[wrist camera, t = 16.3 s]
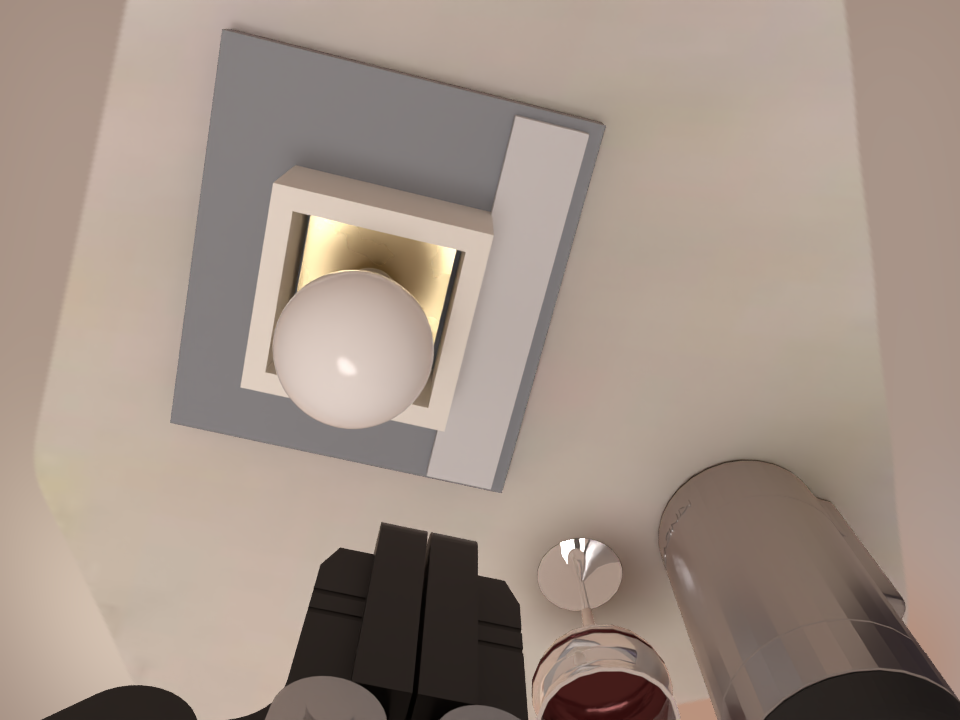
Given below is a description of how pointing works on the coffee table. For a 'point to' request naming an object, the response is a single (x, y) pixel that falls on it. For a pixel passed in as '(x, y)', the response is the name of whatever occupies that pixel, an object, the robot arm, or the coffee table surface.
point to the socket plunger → (380, 261)
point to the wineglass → (595, 647)
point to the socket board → (389, 209)
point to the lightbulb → (353, 348)
